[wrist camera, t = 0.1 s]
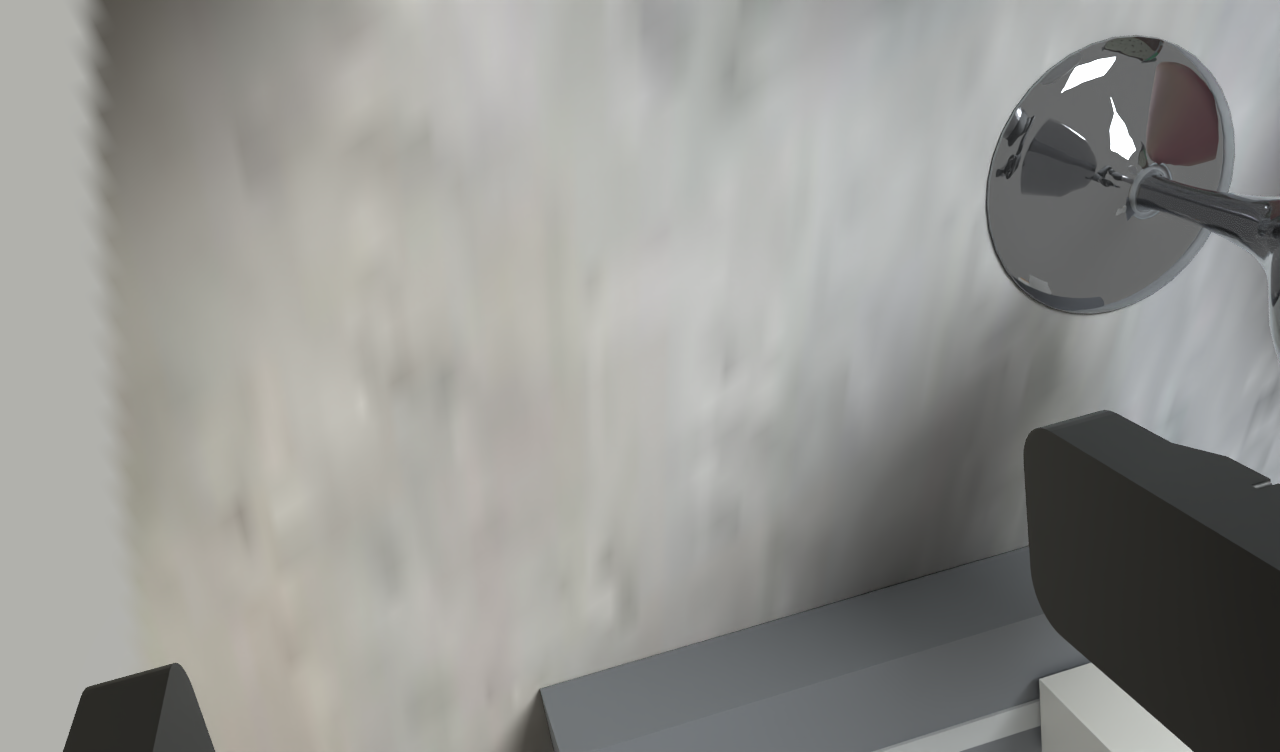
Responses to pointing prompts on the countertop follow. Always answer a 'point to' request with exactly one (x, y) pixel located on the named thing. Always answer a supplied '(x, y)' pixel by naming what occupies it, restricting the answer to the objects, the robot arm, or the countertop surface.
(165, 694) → the robot arm
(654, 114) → the countertop surface
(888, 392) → the countertop surface
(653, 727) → the grey flat slab
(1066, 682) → the block
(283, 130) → the countertop surface
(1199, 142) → the wine glass
